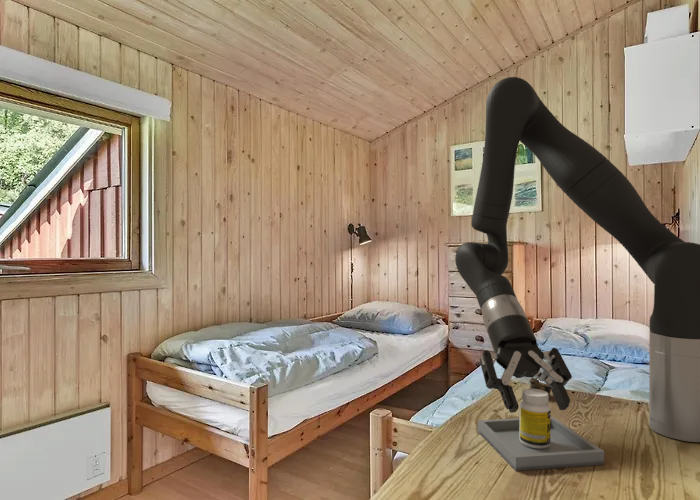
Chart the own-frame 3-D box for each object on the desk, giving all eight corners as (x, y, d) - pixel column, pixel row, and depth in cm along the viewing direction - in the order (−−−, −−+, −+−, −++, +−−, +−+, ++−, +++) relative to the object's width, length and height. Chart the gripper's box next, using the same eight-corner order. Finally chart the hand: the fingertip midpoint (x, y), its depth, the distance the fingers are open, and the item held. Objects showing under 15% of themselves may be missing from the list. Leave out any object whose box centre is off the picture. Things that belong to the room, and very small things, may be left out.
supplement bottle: (553, 451, 72) (554, 398, 72) (521, 448, 73) (522, 396, 73) (546, 438, 77) (547, 388, 77) (517, 435, 78) (517, 386, 78)
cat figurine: (523, 395, 99) (526, 376, 99) (550, 397, 102) (553, 379, 102) (533, 399, 96) (536, 380, 97) (560, 401, 99) (563, 383, 100)
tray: (552, 427, 83) (552, 416, 83) (604, 464, 69) (604, 451, 69) (477, 431, 81) (477, 420, 81) (515, 470, 67) (515, 457, 67)
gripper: (475, 314, 81) (505, 400, 70) (551, 312, 83) (592, 396, 72) (464, 337, 86) (490, 421, 75) (535, 335, 88) (571, 417, 77)
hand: (540, 409), depth 73 cm, fingers open, 8 cm apart
